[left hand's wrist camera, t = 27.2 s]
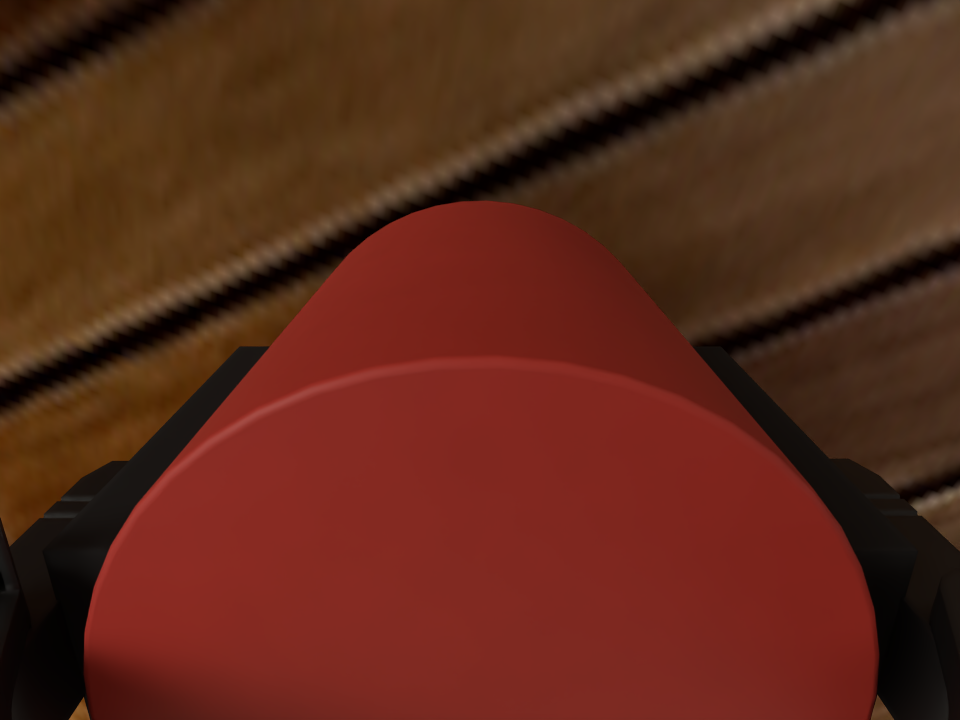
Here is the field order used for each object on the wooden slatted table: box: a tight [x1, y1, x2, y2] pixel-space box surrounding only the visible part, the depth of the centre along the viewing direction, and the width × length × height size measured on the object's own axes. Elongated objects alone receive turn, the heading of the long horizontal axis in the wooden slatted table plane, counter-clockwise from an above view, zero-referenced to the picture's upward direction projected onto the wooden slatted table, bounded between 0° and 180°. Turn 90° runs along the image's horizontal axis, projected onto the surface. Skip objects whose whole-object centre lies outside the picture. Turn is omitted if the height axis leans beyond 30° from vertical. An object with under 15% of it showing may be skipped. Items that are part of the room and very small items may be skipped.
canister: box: [84, 201, 879, 720], centre depth 11 cm, size 8×8×9 cm
